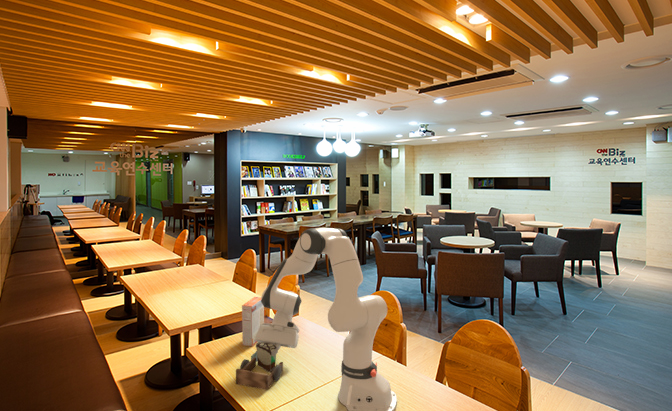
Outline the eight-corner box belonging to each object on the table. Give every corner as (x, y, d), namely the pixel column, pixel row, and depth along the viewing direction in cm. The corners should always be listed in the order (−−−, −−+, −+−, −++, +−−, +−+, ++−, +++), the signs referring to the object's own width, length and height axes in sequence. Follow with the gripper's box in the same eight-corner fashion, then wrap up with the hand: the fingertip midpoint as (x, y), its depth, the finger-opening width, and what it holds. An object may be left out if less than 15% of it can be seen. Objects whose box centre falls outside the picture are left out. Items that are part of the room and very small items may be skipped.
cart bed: (285, 371, 157) (285, 358, 156) (269, 390, 142) (269, 376, 142) (251, 365, 161) (251, 352, 161) (233, 383, 147) (233, 369, 146)
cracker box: (254, 334, 194) (254, 296, 193) (264, 335, 193) (264, 297, 191) (241, 345, 180) (241, 304, 179) (252, 347, 179) (252, 306, 178)
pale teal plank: (265, 350, 175) (265, 342, 175) (267, 351, 175) (267, 343, 175) (251, 364, 162) (251, 356, 162) (253, 365, 162) (253, 356, 161)
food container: (283, 369, 159) (283, 347, 158) (272, 374, 154) (272, 351, 153) (266, 359, 167) (266, 338, 166) (255, 364, 162) (255, 342, 162)
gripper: (259, 319, 171) (248, 348, 162) (299, 325, 165) (290, 355, 157) (263, 324, 176) (253, 353, 167) (302, 330, 170) (294, 360, 161)
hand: (271, 354), depth 162 cm, fingers closed
